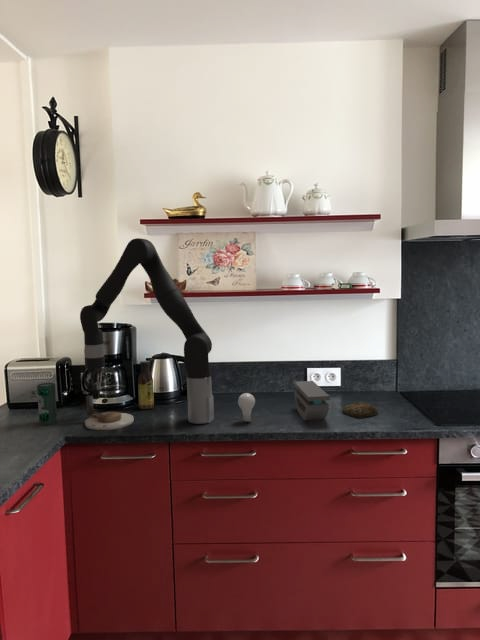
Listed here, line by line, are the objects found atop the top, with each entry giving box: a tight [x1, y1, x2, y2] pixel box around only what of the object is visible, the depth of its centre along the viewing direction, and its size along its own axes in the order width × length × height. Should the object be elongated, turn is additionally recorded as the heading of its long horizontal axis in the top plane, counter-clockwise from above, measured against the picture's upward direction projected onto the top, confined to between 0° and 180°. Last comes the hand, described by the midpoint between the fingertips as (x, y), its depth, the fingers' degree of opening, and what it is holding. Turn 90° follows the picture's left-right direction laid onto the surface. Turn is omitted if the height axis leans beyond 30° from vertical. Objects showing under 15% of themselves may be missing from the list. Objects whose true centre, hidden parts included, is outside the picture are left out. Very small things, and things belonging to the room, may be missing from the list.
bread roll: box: [341, 401, 378, 419], centre depth 196 cm, size 13×12×5 cm
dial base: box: [84, 412, 135, 431], centre depth 191 cm, size 18×18×2 cm
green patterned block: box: [36, 382, 58, 426], centre depth 193 cm, size 6×6×15 cm
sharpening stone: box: [293, 380, 331, 422], centre depth 193 cm, size 25×8×11 cm, turn 6°
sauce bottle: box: [137, 360, 155, 410], centre depth 210 cm, size 7×6×20 cm
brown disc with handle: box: [85, 395, 122, 422], centre depth 191 cm, size 14×9×8 cm, turn 77°
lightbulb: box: [237, 392, 256, 423], centre depth 188 cm, size 6×6×11 cm
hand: (96, 398), depth 198 cm, fingers closed
